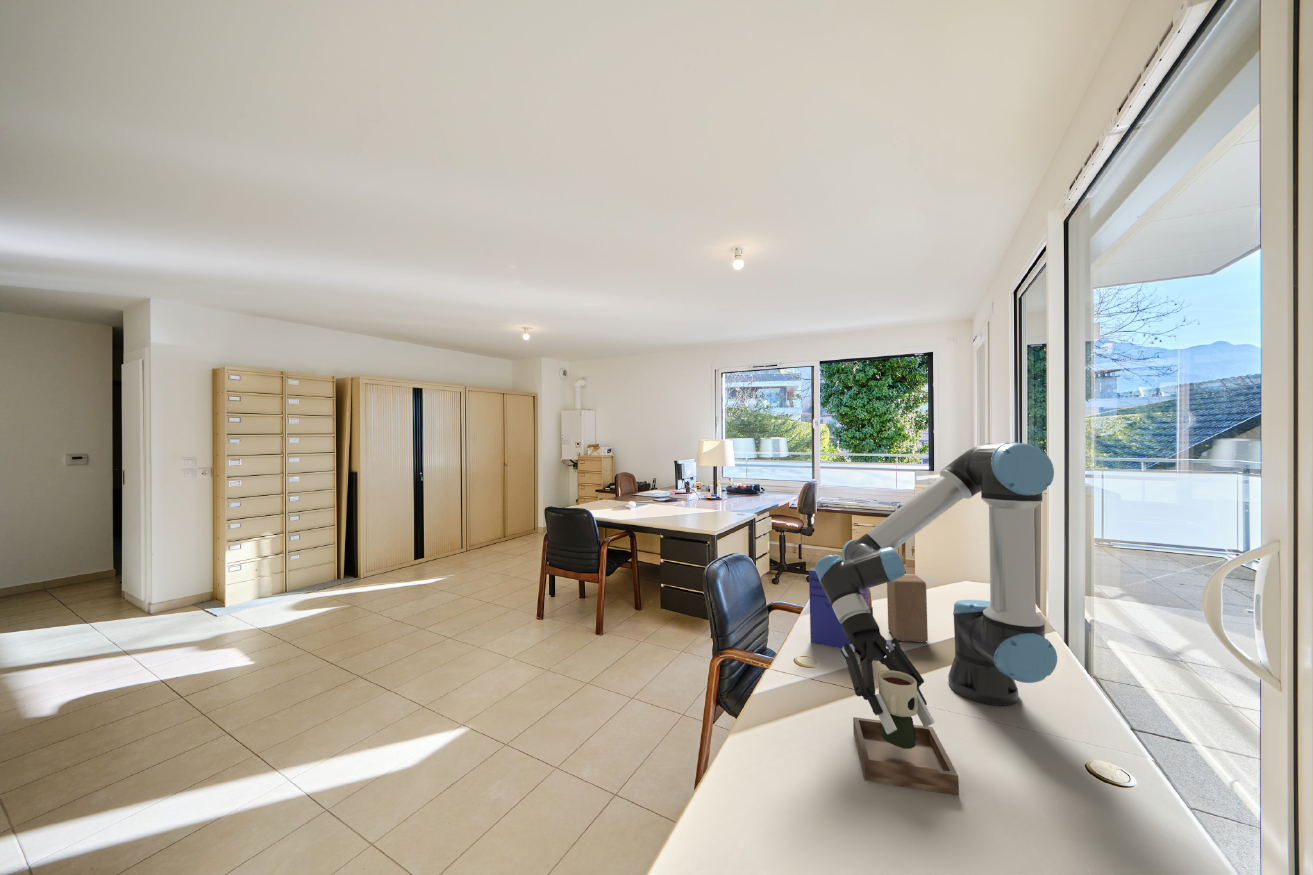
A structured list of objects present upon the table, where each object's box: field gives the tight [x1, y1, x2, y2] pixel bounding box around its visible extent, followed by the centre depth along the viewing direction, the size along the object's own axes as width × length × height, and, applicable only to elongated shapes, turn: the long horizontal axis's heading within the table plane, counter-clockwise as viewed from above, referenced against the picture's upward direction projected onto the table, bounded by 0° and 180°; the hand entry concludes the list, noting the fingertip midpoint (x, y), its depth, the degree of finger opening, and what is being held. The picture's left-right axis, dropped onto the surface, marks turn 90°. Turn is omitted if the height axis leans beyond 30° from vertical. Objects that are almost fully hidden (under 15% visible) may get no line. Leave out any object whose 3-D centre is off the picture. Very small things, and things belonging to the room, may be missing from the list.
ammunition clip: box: [868, 588, 874, 616], centre depth 174 cm, size 11×2×12 cm, turn 133°
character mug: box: [878, 669, 918, 749], centre depth 97 cm, size 11×7×13 cm, turn 145°
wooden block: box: [886, 574, 929, 643], centre depth 161 cm, size 10×10×20 cm
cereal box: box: [808, 566, 869, 650], centre depth 155 cm, size 17×5×24 cm, turn 58°
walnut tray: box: [852, 716, 960, 796], centre depth 97 cm, size 16×16×4 cm
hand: (910, 728), depth 94 cm, fingers closed on character mug, 8 cm apart
